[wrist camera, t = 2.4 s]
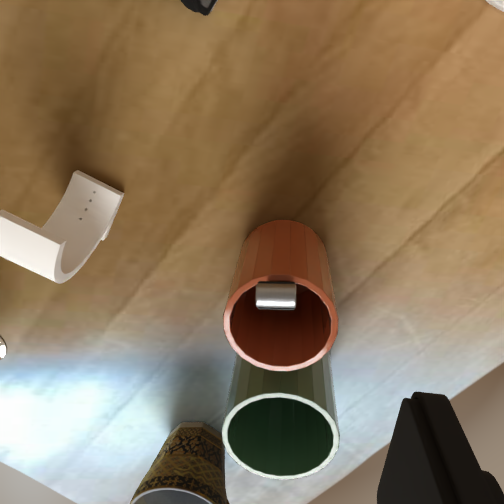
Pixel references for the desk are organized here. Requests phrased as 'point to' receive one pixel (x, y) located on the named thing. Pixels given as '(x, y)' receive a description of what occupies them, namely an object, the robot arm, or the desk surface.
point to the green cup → (281, 419)
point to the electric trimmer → (200, 5)
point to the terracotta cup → (282, 321)
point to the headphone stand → (62, 230)
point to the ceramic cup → (186, 469)
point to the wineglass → (2, 349)
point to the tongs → (276, 295)
